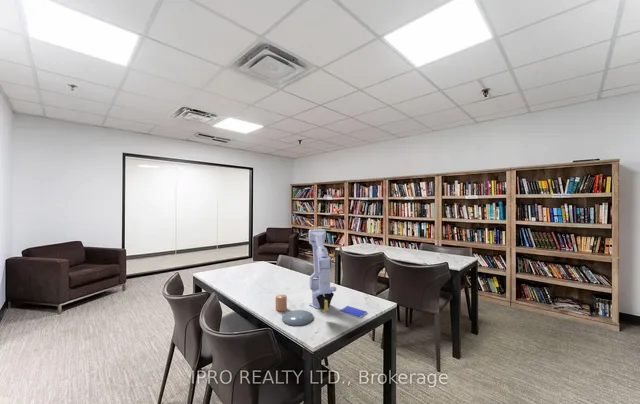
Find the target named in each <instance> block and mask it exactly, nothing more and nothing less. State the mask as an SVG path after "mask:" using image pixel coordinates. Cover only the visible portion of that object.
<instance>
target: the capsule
mask: <svg viewBox="0 0 640 404" xmlns="http://www.w3.org/2000/svg"><path fill="white" fill-rule="evenodd" d="M328 311H329V308H328V301H327V300H325V302H324V310H322V309H321V312H322V313H328Z"/></svg>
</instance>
